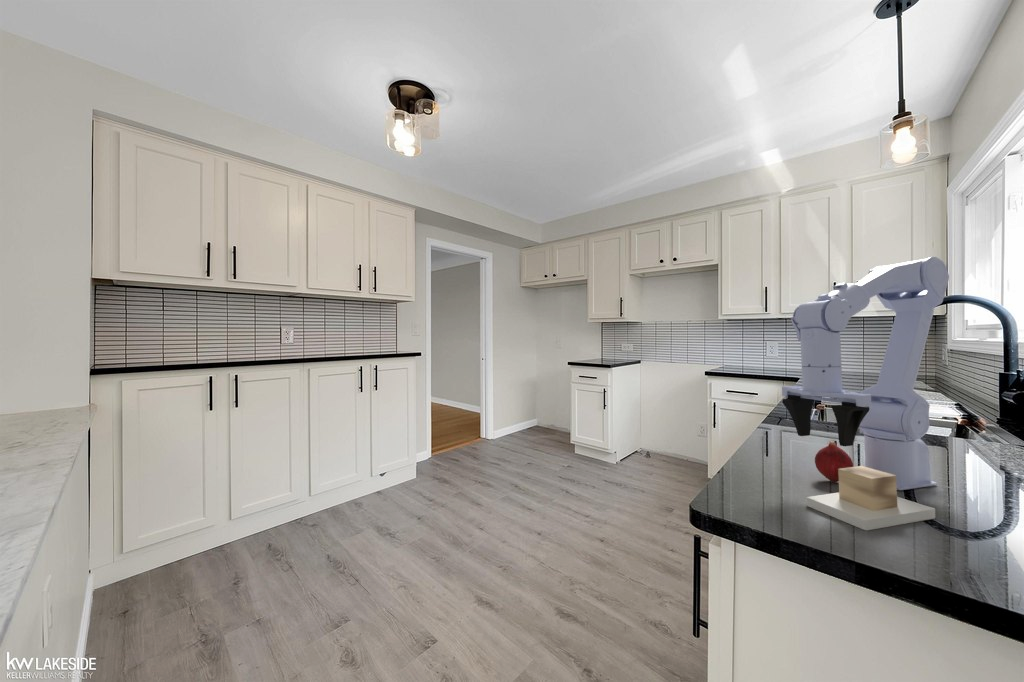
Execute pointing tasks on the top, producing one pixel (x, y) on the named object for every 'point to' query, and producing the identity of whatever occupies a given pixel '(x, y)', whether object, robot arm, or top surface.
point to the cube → (868, 487)
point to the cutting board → (870, 512)
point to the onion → (832, 461)
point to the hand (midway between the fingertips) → (824, 440)
